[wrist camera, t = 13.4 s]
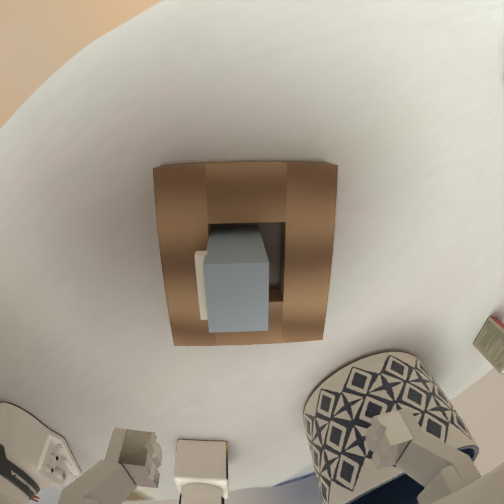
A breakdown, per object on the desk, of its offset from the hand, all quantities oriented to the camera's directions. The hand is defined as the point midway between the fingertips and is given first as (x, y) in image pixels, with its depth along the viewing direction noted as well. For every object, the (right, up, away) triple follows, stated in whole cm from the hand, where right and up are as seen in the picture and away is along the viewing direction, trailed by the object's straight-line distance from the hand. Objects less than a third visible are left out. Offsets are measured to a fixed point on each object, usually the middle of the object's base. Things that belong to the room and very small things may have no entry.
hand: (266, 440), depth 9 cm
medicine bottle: (-8, -23, +29) cm, 38 cm away
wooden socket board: (-1, +7, +18) cm, 19 cm away
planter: (+15, -13, +27) cm, 33 cm away
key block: (-2, +7, +17) cm, 19 cm away
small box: (+35, -5, +25) cm, 43 cm away
